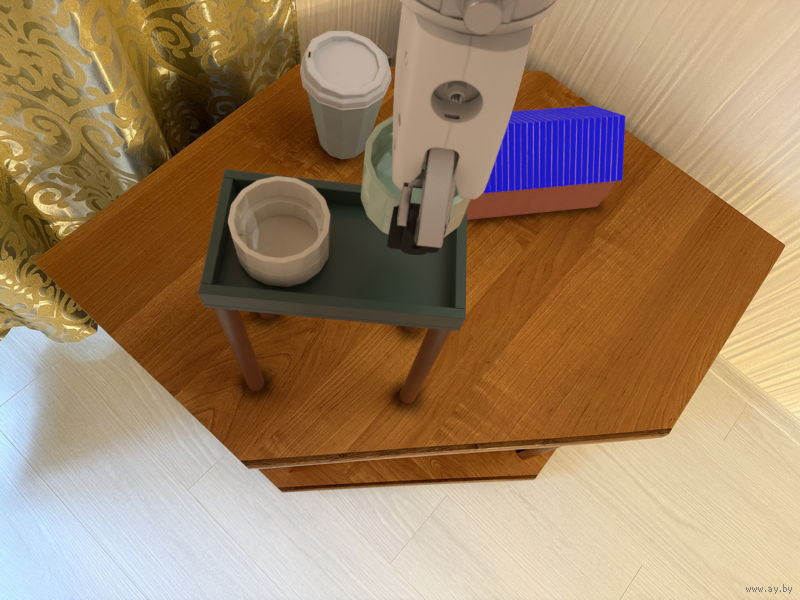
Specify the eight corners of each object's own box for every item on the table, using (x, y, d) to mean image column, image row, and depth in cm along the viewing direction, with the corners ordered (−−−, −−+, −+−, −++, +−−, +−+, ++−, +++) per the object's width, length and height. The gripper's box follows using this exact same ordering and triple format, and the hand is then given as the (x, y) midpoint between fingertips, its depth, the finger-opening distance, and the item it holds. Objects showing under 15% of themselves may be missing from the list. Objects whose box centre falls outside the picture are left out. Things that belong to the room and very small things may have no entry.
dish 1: (324, 293, 45) (324, 267, 41) (230, 284, 44) (220, 256, 40) (333, 214, 48) (334, 182, 44) (245, 205, 47) (237, 171, 43)
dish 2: (464, 251, 38) (481, 215, 34) (356, 240, 38) (360, 201, 33) (466, 162, 41) (482, 118, 37) (365, 150, 40) (369, 104, 36)
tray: (415, 405, 67) (465, 319, 43) (245, 391, 66) (197, 293, 42) (419, 319, 72) (467, 196, 47) (259, 303, 70) (224, 168, 46)
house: (441, 148, 82) (458, 87, 72) (574, 137, 86) (610, 78, 75) (459, 222, 78) (480, 169, 67) (600, 208, 81) (641, 155, 71)
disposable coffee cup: (384, 116, 83) (395, 29, 70) (380, 179, 79) (391, 100, 65) (308, 107, 82) (304, 18, 69) (299, 171, 78) (294, 89, 64)
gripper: (592, 126, 19) (470, 323, 35) (564, -187, 26) (473, 97, 42) (361, 97, 19) (344, 311, 35) (395, -215, 26) (368, 84, 42)
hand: (415, 192), depth 39 cm, fingers closed on dish 2, 7 cm apart
